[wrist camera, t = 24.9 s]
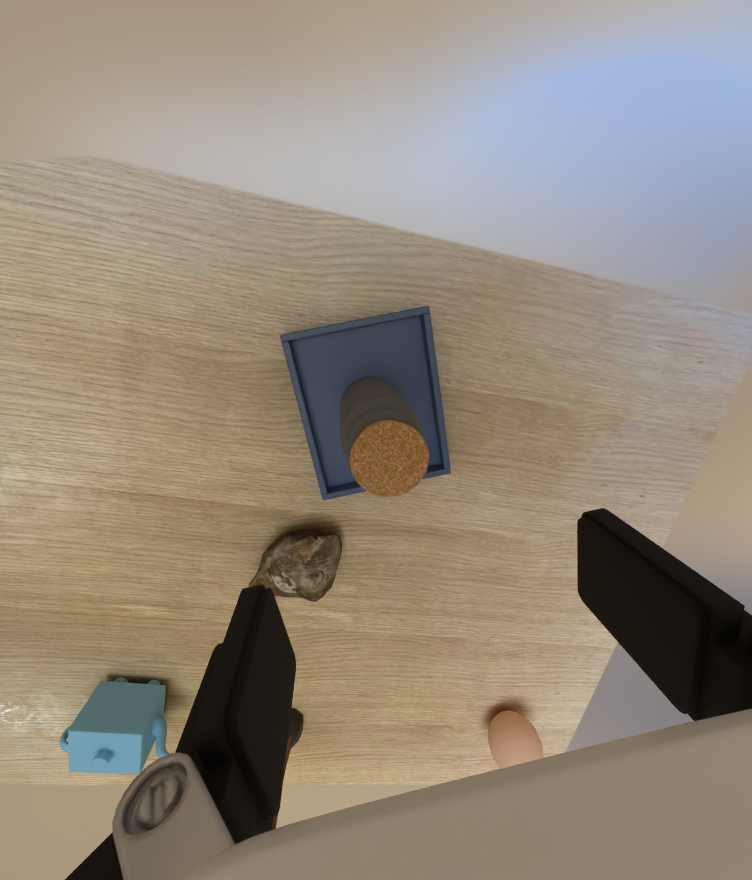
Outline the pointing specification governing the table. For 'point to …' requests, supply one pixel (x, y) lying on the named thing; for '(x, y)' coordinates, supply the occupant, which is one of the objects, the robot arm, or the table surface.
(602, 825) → the robot arm
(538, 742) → the egg
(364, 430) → the bottle
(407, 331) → the slate tray
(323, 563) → the fossilized seashell
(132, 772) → the teapot
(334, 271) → the table surface
